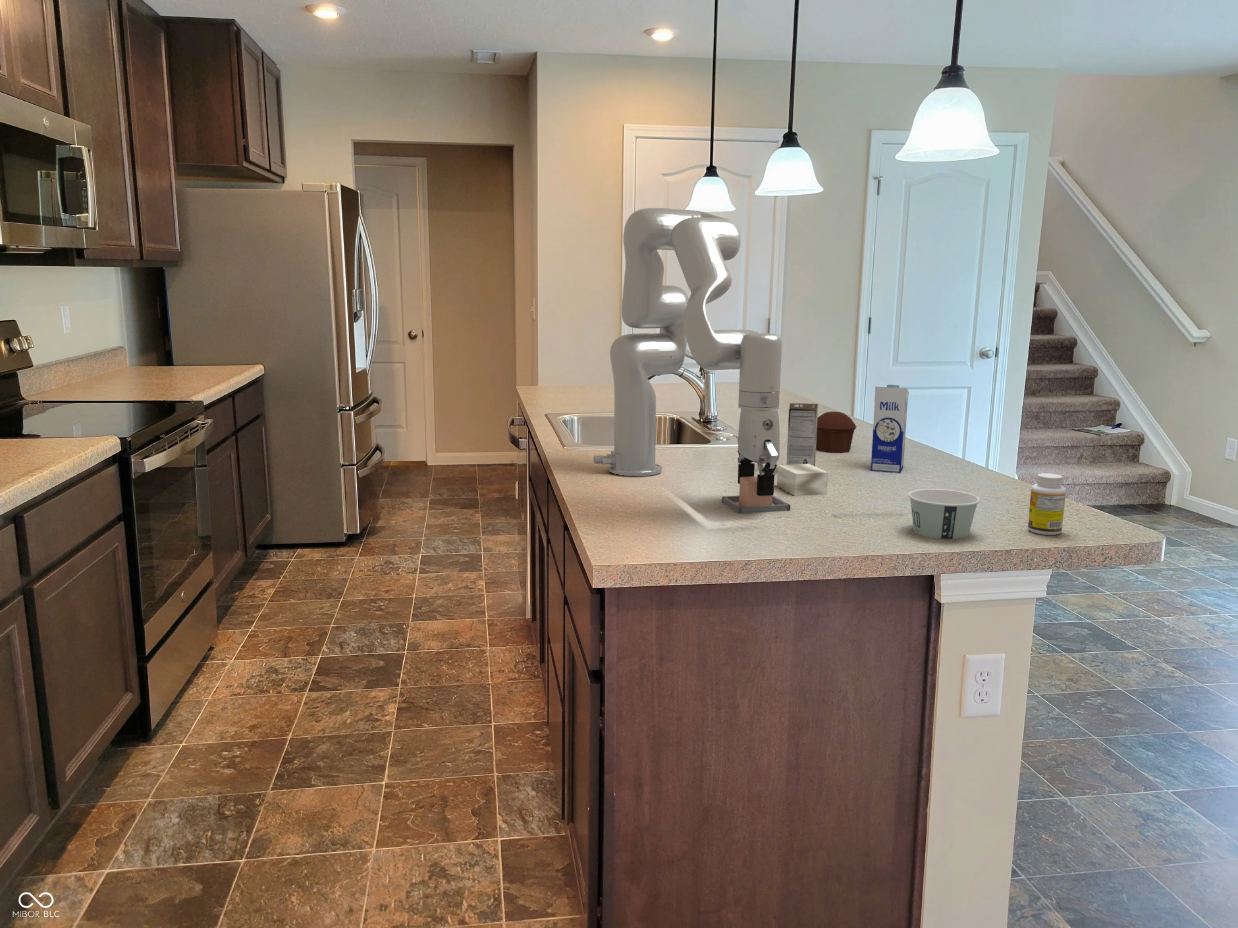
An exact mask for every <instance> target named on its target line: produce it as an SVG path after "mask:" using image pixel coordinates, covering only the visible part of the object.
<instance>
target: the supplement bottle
mask: <svg viewBox="0 0 1238 928" xmlns="http://www.w3.org/2000/svg"><path fill="white" fill-rule="evenodd" d="M1062 484H1063V476H1062V475H1059V474H1055V473H1049V472H1047V473H1046V472H1041V473H1038V474H1037V477H1036V483H1035V484H1033V485H1032V486H1031V489H1030V499H1029V509H1028V510H1029V512H1028V521H1027V528H1028V530H1029V531H1030V532H1032V533H1034V534H1038V535H1043V536H1056V534H1057V535H1060V534H1061V533H1062V531H1063V525H1064V516H1065V505H1066V495H1067V489H1066V488H1065V487H1064V486H1063V485H1062Z"/></svg>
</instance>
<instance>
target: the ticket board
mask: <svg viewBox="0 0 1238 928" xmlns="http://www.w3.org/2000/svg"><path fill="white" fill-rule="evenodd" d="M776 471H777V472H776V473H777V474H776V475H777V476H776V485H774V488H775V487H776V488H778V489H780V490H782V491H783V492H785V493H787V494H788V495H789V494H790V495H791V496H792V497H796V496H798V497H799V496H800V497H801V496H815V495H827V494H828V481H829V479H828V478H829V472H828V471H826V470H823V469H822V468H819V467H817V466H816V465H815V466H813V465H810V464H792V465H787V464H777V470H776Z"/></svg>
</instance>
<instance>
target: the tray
mask: <svg viewBox="0 0 1238 928" xmlns="http://www.w3.org/2000/svg"><path fill="white" fill-rule="evenodd" d="M721 502H722V503H723V504H724V505H725V506H727V507H729V508H730V509H732V510H733V511H734V512H736V513H737V514H752V513H755V514H756V513H757V514H758V513H771V512H772V513H773V512H774V513H775V512H789V511H791V504H789V503H788V502H786V501H784V500H783V499H781V498H779V497H777V496H776V495H774V494H773V498H772V505H765V506H747V507H743V506H741V505H740V504H737V503H739V495H728V496H727V495H726V496H721Z"/></svg>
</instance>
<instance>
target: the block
mask: <svg viewBox="0 0 1238 928" xmlns="http://www.w3.org/2000/svg"><path fill="white" fill-rule="evenodd" d="M738 491H739V495H738V496H739V502H738V505H739V506H741V507H747V506H765V505H773V502H772V498H773V495H774V494H773V495H772V496H758V495H757V475H756V476H754V477H740V484H739V490H738Z"/></svg>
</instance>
